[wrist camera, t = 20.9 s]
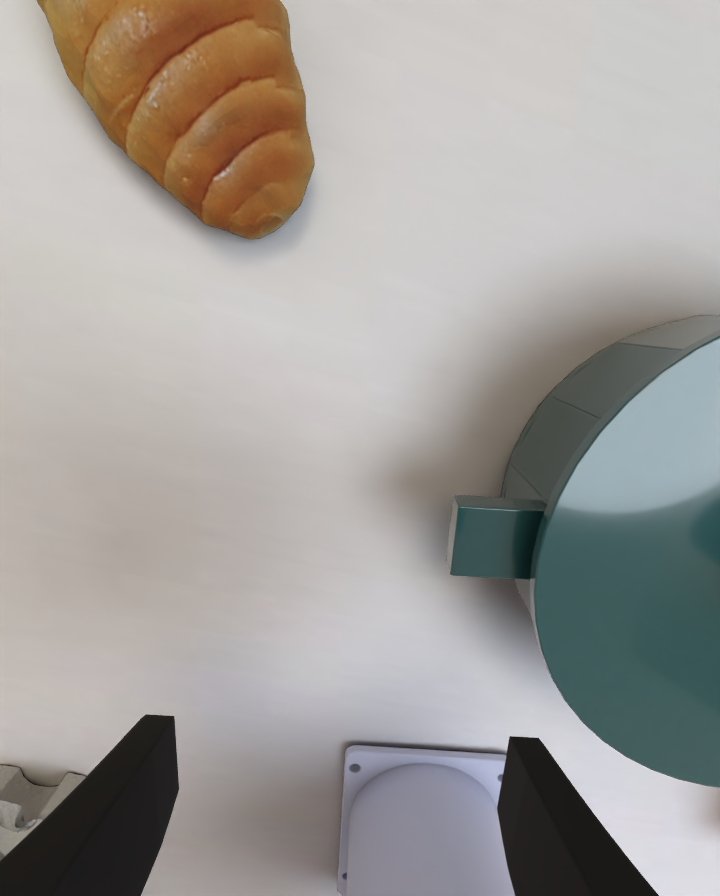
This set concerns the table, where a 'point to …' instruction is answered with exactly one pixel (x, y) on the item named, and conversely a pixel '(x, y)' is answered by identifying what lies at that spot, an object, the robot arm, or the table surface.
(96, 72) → the pastry
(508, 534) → the pot
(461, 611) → the table surface
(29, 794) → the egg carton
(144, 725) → the robot arm
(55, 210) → the table surface
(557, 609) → the lid
